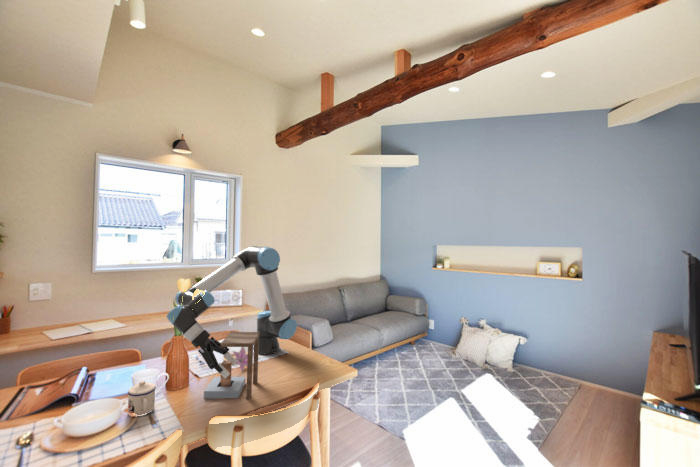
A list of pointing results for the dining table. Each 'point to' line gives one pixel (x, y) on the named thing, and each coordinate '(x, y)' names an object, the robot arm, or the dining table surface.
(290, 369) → the dining table surface
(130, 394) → the teacup with lid
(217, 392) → the socket
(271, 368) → the dining table surface
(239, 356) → the lily
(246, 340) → the brown frame
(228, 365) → the peg
